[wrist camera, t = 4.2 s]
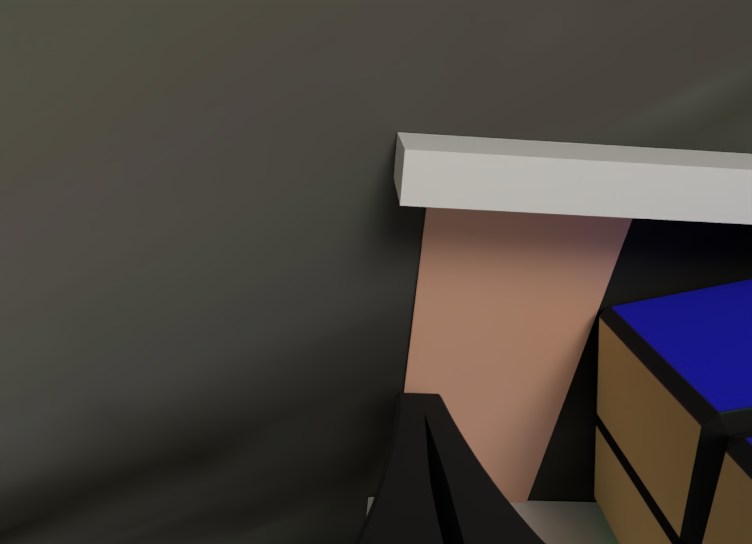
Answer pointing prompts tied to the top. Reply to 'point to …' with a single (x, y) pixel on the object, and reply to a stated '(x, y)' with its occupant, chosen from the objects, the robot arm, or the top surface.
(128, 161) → the top surface
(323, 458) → the top surface
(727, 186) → the trap channel
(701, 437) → the puzzle cube
